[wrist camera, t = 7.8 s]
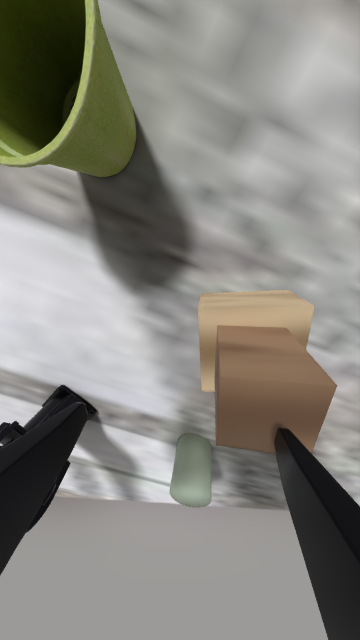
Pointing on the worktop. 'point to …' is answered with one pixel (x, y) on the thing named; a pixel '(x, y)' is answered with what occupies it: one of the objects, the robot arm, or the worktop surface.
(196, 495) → the sage cylinder
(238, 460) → the worktop surface
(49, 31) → the plant pot
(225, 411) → the walnut cube
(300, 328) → the oak block
